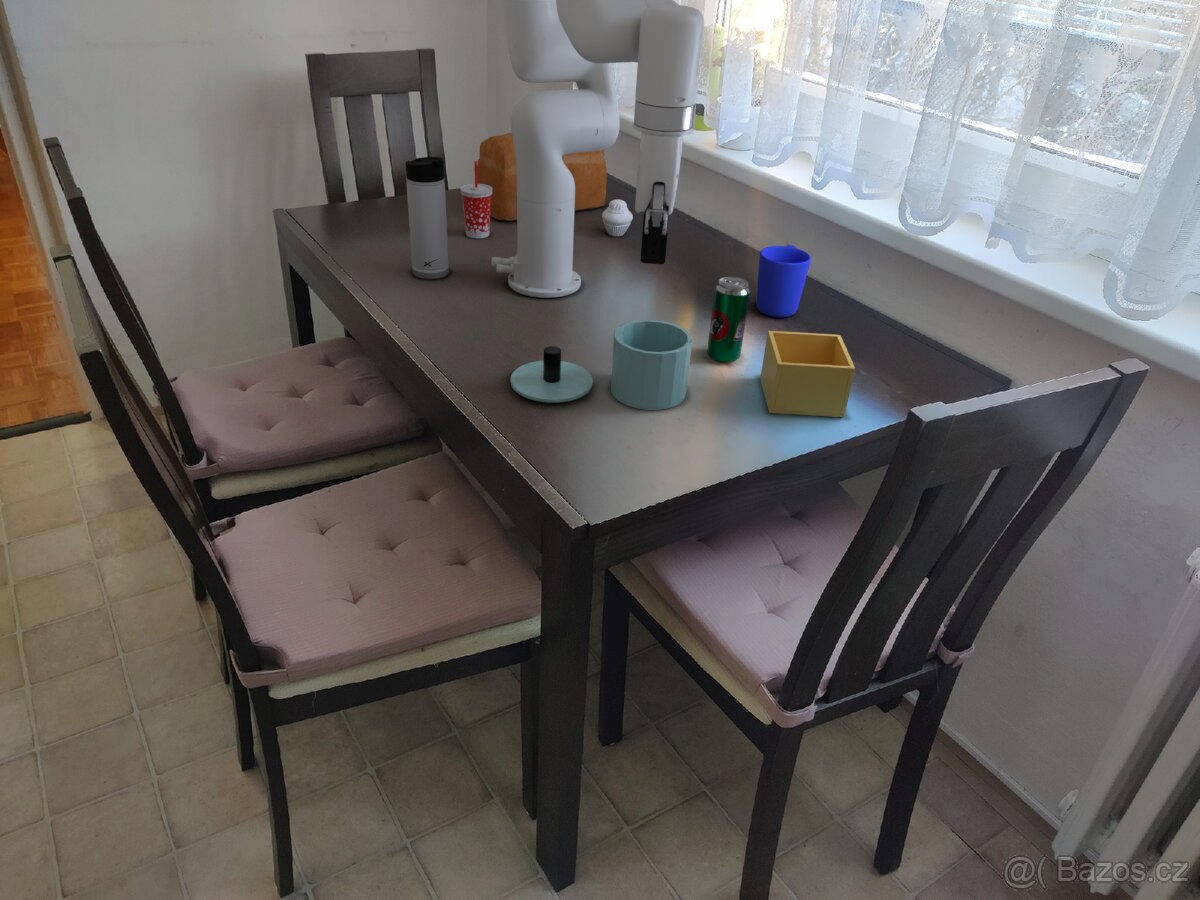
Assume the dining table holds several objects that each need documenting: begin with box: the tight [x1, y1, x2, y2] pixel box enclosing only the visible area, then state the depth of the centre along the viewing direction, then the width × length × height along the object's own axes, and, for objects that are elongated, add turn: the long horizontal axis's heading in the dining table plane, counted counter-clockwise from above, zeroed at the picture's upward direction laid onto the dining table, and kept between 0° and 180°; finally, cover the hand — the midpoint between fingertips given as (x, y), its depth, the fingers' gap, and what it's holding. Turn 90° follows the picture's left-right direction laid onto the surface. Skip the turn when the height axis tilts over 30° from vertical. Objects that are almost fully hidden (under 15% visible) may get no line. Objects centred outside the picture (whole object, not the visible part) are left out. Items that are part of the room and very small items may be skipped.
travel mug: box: [405, 156, 450, 280], centre depth 151 cm, size 6×7×20 cm
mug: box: [755, 244, 812, 319], centre depth 149 cm, size 8×12×10 cm
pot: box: [610, 319, 693, 411], centre depth 122 cm, size 10×10×8 cm
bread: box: [477, 132, 608, 222], centre depth 186 cm, size 14×26×16 cm, turn 122°
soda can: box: [706, 276, 751, 364], centre depth 131 cm, size 5×5×12 cm
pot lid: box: [510, 345, 594, 403], centre depth 123 cm, size 11×11×6 cm
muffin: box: [601, 198, 634, 237], centre depth 176 cm, size 6×6×7 cm
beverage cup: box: [459, 160, 493, 239], centre depth 170 cm, size 6×6×14 cm
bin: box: [759, 330, 856, 418], centre depth 123 cm, size 10×10×8 cm
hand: (653, 249), depth 120 cm, fingers open, 9 cm apart
